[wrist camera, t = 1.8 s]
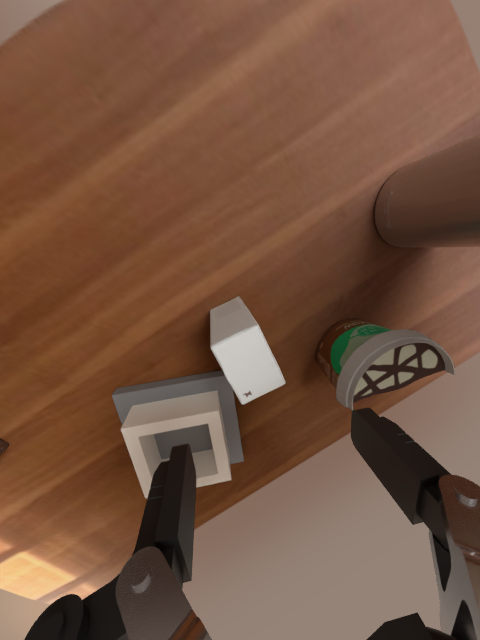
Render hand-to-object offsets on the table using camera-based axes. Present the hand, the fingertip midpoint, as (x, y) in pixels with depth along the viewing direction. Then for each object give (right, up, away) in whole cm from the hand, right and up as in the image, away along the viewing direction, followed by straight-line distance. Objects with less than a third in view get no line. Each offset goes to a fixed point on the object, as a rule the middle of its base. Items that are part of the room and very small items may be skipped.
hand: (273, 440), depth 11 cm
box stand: (-10, -9, +22) cm, 25 cm away
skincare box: (-2, +6, +18) cm, 19 cm away
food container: (+13, +4, +21) cm, 25 cm away
